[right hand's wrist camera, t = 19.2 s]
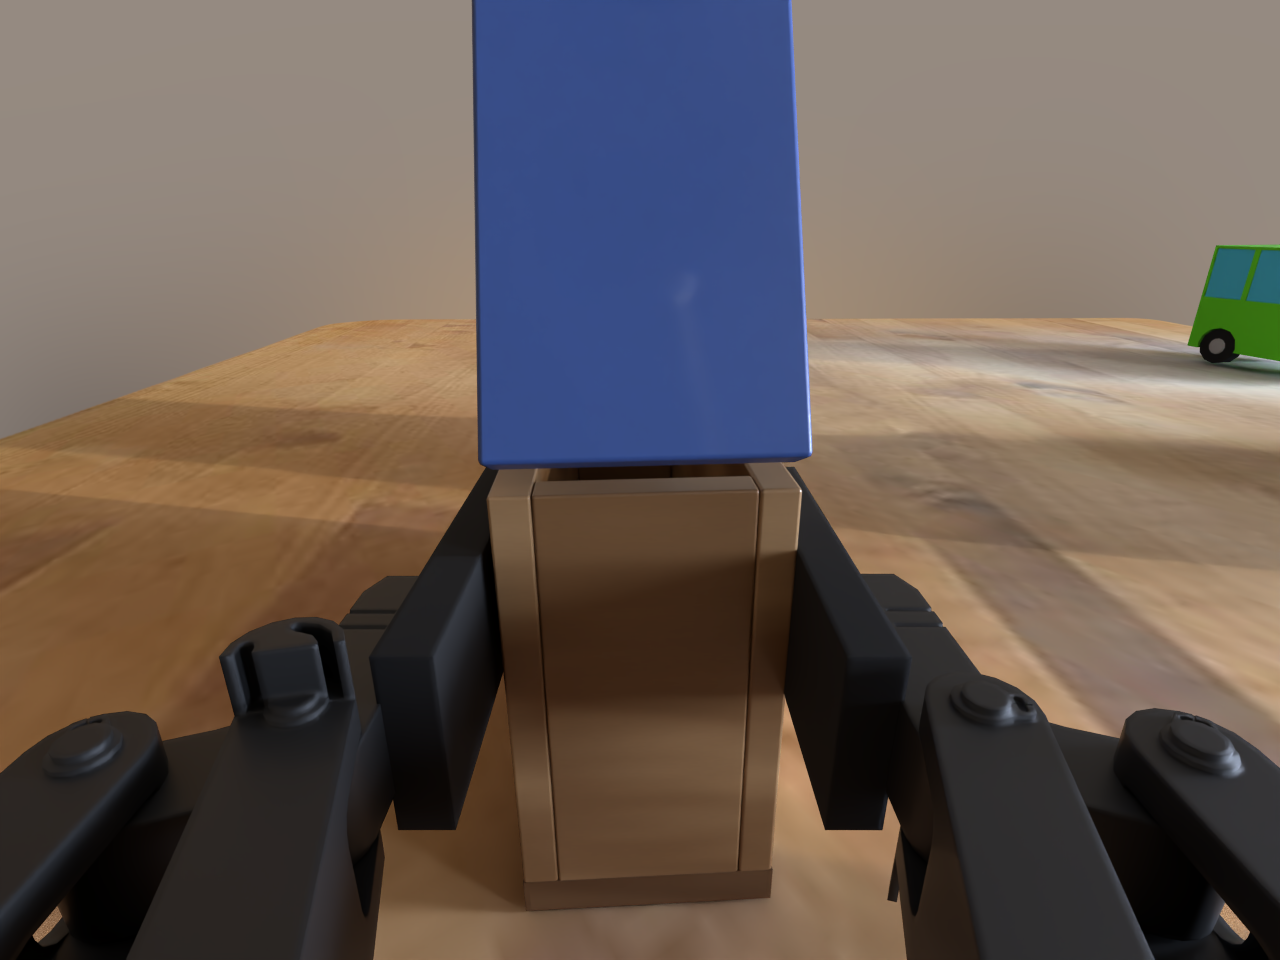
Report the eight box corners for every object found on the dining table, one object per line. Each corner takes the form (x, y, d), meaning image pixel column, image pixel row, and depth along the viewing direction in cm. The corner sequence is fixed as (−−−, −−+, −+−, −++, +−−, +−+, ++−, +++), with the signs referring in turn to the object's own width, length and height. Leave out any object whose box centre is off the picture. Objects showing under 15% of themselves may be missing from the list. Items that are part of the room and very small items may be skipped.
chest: (566, 556, 27) (553, 337, 24) (686, 553, 27) (689, 334, 24) (525, 911, 13) (485, 497, 10) (770, 898, 13) (804, 489, 10)
